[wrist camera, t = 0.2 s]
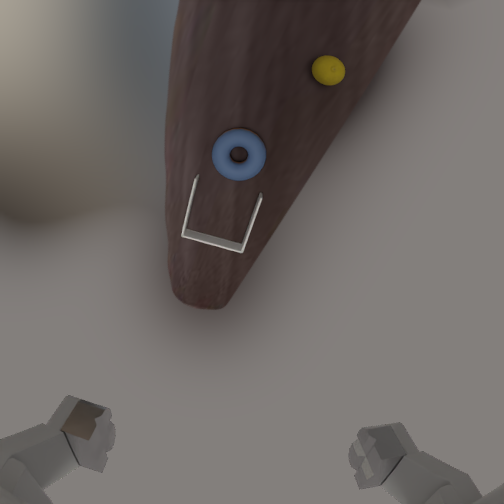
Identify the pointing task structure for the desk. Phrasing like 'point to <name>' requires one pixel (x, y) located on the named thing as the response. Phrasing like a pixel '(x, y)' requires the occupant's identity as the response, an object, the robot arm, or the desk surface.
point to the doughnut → (231, 167)
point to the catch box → (212, 239)
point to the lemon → (328, 70)
